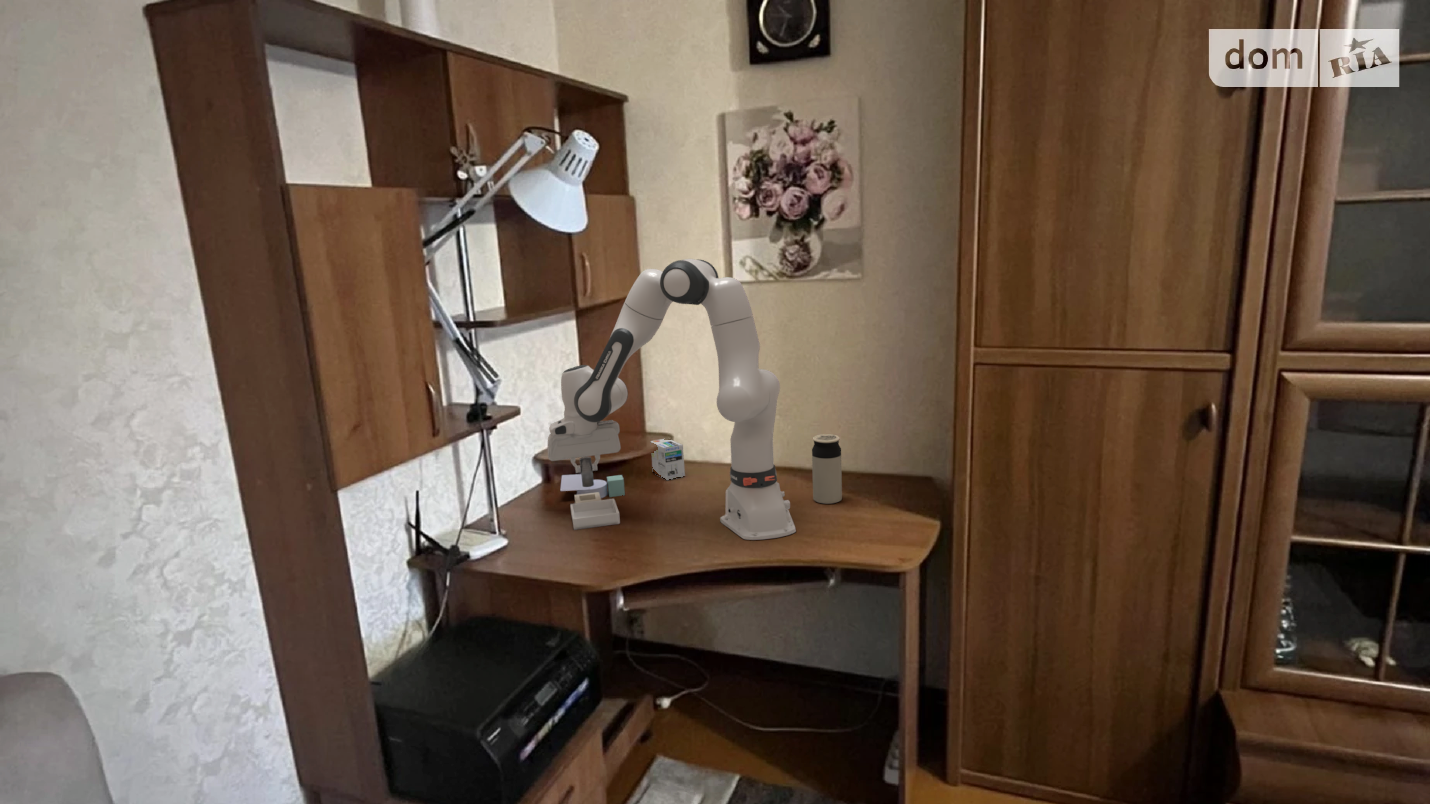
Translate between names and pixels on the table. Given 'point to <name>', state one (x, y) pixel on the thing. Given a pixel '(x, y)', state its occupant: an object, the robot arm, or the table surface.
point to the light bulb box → (668, 459)
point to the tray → (594, 514)
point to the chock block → (615, 486)
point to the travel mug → (827, 469)
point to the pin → (586, 472)
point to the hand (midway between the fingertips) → (586, 471)
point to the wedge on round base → (576, 484)
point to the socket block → (587, 497)
